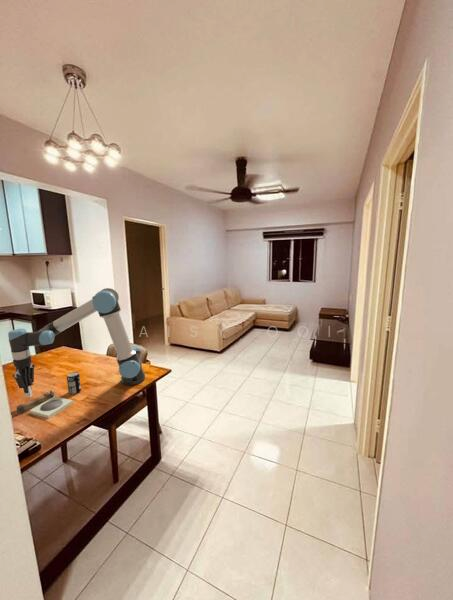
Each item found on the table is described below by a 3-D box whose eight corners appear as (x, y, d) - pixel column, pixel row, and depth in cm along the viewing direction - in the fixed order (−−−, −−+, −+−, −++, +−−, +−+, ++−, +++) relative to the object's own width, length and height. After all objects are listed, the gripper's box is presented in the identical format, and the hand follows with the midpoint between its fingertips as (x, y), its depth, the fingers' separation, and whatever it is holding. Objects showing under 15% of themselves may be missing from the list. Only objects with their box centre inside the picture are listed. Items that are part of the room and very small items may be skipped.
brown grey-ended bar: (48, 398, 146) (47, 392, 145) (51, 399, 144) (50, 393, 143) (17, 412, 133) (16, 405, 132) (20, 414, 131) (18, 407, 130)
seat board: (73, 403, 141) (72, 400, 141) (48, 418, 128) (48, 415, 128) (55, 398, 145) (54, 395, 145) (29, 413, 132) (29, 409, 132)
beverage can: (78, 388, 157) (76, 370, 155) (83, 391, 153) (80, 373, 151) (67, 392, 152) (64, 374, 150) (71, 396, 148) (68, 377, 146)
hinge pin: (56, 397, 147) (55, 390, 146) (52, 399, 144) (51, 392, 144) (53, 396, 148) (52, 389, 147) (48, 398, 145) (47, 391, 144)
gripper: (23, 352, 140) (30, 390, 145) (4, 362, 128) (12, 404, 132) (37, 352, 141) (44, 390, 145) (19, 362, 128) (27, 403, 132)
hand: (29, 396), depth 139 cm, fingers closed
